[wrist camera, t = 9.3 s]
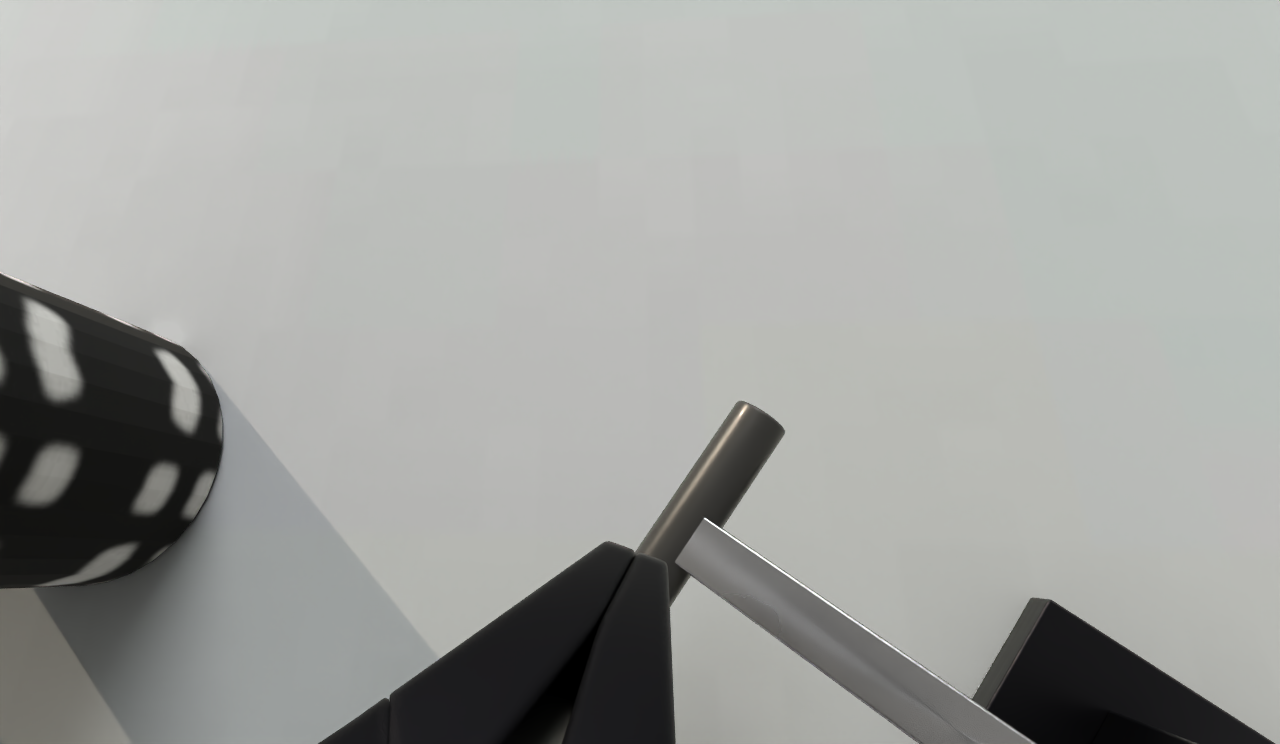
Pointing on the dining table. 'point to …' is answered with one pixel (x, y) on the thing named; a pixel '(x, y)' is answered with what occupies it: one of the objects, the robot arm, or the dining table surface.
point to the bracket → (1094, 689)
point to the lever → (800, 595)
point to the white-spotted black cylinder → (95, 441)
